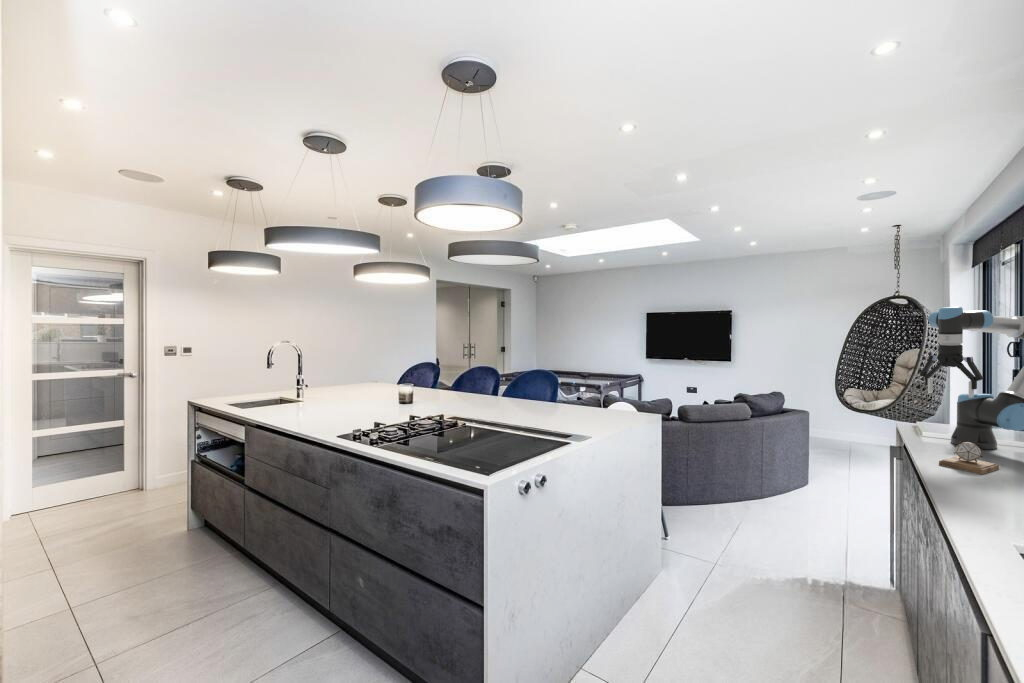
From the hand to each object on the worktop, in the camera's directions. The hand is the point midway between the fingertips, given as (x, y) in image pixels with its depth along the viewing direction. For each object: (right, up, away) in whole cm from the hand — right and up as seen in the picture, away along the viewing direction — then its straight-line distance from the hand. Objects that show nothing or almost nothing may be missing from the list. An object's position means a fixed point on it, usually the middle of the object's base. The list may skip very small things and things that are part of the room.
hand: (950, 395), depth 206 cm
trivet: (-6, -26, -15) cm, 31 cm away
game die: (-6, -24, -14) cm, 29 cm away
